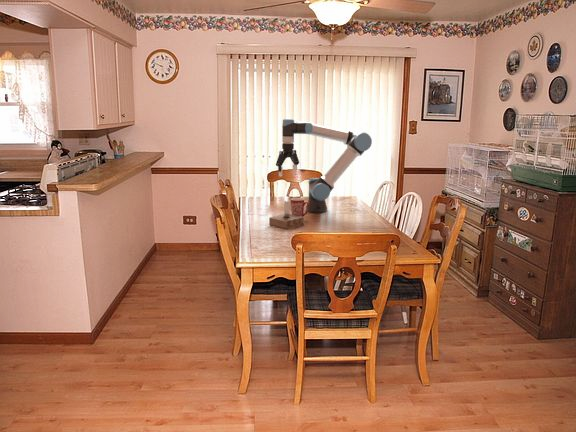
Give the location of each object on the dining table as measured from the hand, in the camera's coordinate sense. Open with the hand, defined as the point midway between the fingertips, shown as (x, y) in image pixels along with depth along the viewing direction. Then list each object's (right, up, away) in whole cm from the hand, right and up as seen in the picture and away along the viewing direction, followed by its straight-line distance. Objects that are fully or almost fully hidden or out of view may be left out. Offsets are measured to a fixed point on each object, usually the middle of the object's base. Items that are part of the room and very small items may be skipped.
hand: (287, 175), depth 313 cm
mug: (+8, -29, -7) cm, 31 cm away
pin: (-1, -31, -22) cm, 38 cm away
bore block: (-1, -32, -22) cm, 39 cm away
